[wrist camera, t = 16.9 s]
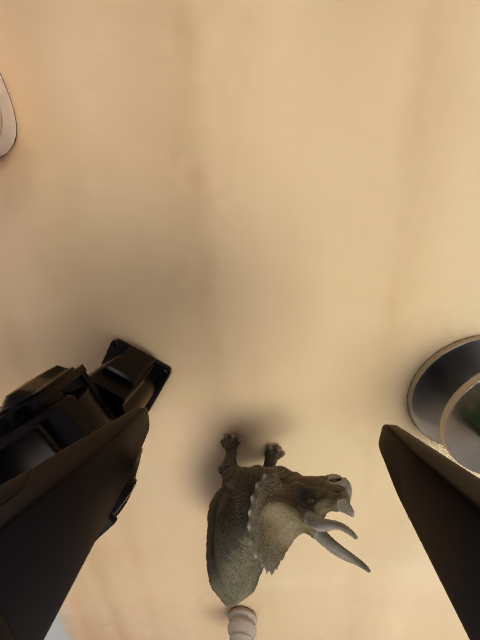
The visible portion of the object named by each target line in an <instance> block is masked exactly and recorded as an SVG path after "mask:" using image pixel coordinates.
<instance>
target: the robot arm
mask: <svg viewBox="0 0 480 640" xmlns="http://www.w3.org/2000/svg"><path fill="white" fill-rule="evenodd" d="M116 343H118V345H116ZM164 370H166V371H167V372H165V371H164ZM170 374H171V368H170V367H169V366H167V365H165V364H163V363H161V362H160V361H158V360H156V359H154V358H153V357H152V356H150V355H148V354H146V353H144V352H143V351H141V350H139V349H137V348H136V347H134V346H131V345H129V344H128V343H126V342H124V341H122V340H120V339H115V340H113V341H112V342H111V344H110V346H109V348H108V351H107V353H106V355H105V357H104V360H103V362H102V364H101V366H100V367H98V368H97V369H96V370H94V371H93V372H91V373H90V374H89V375H88V374H87V372H86V368H85V367H84V365H83V364H82V365H80V366H77V367H75V368H73V367H71V368H64V367H61V366H58V365H57V366H55V367H53V368H51V369H49V370H47V371H45V372H44V373H42V374H40V375H38V376H36V377H35V378H33V379H31V380H30V381H28V382H26V383H25V384H23V385H22V386H20V387H19V388H17V389H16V390H14V391H13V392H11V393H10V394H9V395H7V396H6V398H5V400H4V403H3V405H2V407H0V640H44V638H45V636H46V634H47V632H48V631H49V629H50V627H51V625H52V623H53V621H54V619H55V617H56V615H57V613H58V612H59V610H60V608H61V606H62V604H63V602H64V600H65V598H66V596H67V594H68V592H69V591H70V589H71V587H72V585H73V583H74V581H75V579H76V577H77V575H78V573H79V571H80V569H81V568H82V566H83V564H84V562H85V560H86V558H87V556H88V554H89V552H90V550H91V548H92V547H93V545H94V543H95V541H96V540H97V539H98V538H99V537H100V536H101V535H102V534H103V533H105V532H106V531H107V530H108V529H109V528H110V527H111V526H112V525H113V524H114V523H115V522H116V521H117V517H116V516H117V515H118V514H119V513H120V511H121V510H122V509H123V507H124V506H125V504H126V503H127V501H128V499H129V497H130V495H131V492H132V490H133V489H134V487H135V484H136V481H137V480H136V478H135V477H136V473H137V469H138V465H139V461H140V457H141V454H142V445H143V443H144V441H145V438H146V436H147V433H148V431H149V417H148V412H149V410H150V409H151V407H152V405H153V403H154V402H155V400H156V398H157V396H158V395H159V393H160V391H161V389H162V388H163V386H164V384H165V382H166V381H167V379H168V377H169V375H170ZM379 449H380V451H381V454H382V457H383V459H384V462H385V464H386V467H387V469H388V472H389V474H390V477H391V479H392V482H393V485H394V487H395V489H396V492H397V494H398V496H399V498H400V501H401V503H402V505H403V507H404V509H405V511H406V513H407V515H408V517H409V519H410V521H411V523H412V525H413V527H414V529H415V531H416V533H417V535H418V537H419V539H420V541H421V543H422V545H423V547H424V549H425V551H426V553H427V555H428V557H429V559H430V561H431V563H432V565H433V567H434V569H435V571H436V573H437V575H438V577H439V579H440V581H441V583H442V585H443V587H444V589H445V591H446V593H447V595H448V597H449V599H450V601H451V603H452V605H453V607H454V609H455V611H456V613H457V615H458V617H459V619H460V621H461V623H462V625H463V627H464V629H465V631H466V633H467V635H468V637H469V639H470V640H480V479H479V478H478V477H476V476H475V475H473V474H471V473H470V472H468V471H467V470H465V469H464V468H462V467H461V466H459V465H457V464H456V463H454V462H453V461H451V460H450V459H448V458H447V457H445V456H444V455H442V454H440V453H439V452H437V451H436V450H434V449H433V448H431V447H430V446H428V445H426V444H425V443H423V442H422V441H420V440H419V439H417V438H416V437H414V436H412V435H411V434H409V433H408V432H406V431H405V430H403V429H402V428H400V427H398V426H397V425H389V424H385V425H383V427H382V430H381V434H380V439H379Z"/></svg>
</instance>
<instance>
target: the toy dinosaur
mask: <svg viewBox="0 0 480 640" xmlns="http://www.w3.org/2000/svg"><path fill="white" fill-rule="evenodd" d="M241 440H242V439H241V438H236V434H235V433H233V434H232V435H231V436H229V435H228V434H225V435H224V440H221V441H220V442H221V444H222V447H223V448H224V449H225V451H226V455H225V460H224V462H222V467H218V471H219V473H220V474H221V475H222V477H223V482H222V487H221V488H220V489H219V490H218V491H217V492H216V493H215V495H214V497H213V498H212V500H211V502H210V506H209V511H208V515H207V521H208V529H207V543H206V547H207V551H206V560H207V572H208V576H209V583H210V585H211V587H212V590H213V591H214V592H215V593H216V594H217V596H218V597H219V598H220V599H221V601H222V602H223V603H224V604H225V606H227V607H231V606H234V605H236V604H238V603H239V602H241V601H243V600H244V599H245V598H247V597H248V596H249V595H250V594H252V593H253V592H254V590H255V588H256V586H257V584H258V580H259V577H260V575H261V573H262V570H263V568H264V567H265V569H266V574H267V573H268V572H269V571H270V573H271V575H272V574H273V572H274V570H275V568H276V569H278V566H279V564H280V561H281V560H283V558H284V556H285V553H286V552H287V550H288V549H289V547H290V546H291V544H292V542H293V541H294V540H295V538H296V537H297V536H299V535H300V534H302V533H306V534H308V535H310V536H311V537H312V538H314V539H316V540H317V541H318V542H319V543H320V544H321V545H322V546H324V547H325V548H326V549H327V550H328V551H330V552H331V553H332V554H334V555H336V556H337V557H339V558H341V559H343V560H345V561H347V562H350V563H353V564H355V565H357V566H358V567H360V568H362V569H364V570H365V571H367V572H371V571H370V569H369V568H368V566H367V565H366V564H365V563H364V562H363V561H361V560H360V559H359V558H358V557H356V556H355V555H354V554H352V553H351V552H349V551H348V550H347V549H345V548H344V547H343V546H342V545H340V544H339V543H338V542H337V541H335V540H334V539H333V538H332V537H331V536H330V535H329V534H328V533H327V532H326V531H330V530H336V529H337V530H341V531H343V532H345V533H347V534H349V535H350V536H352V537H353V538H354V539H357V538H358V537H357V535H356V534H355V533H354V532H353V531H352V530H351V529H350V528H349V527H348V526H346V525H345V524H343V523H341V522H338V521H335V520H329V519H324V517H325V516H326V514H327V513H328V512H330V511H335V512H338V511H340V512H343V513H345V514H347V515H349V516H351V517H354V511H353V508H352V506H351V505H350V499H351V496H352V488H351V485H350V483H349V481H348V480H347V479H346V478H342V477H341V476H340V475H337V474H330V475H327V476H302V475H300V474H299V473H298V472H292V471H291V470H289V469H287V468H285V467H283V466H276V463H277V460H279V459H280V458H281V457H283V456H284V455H285V452H284V451H281V447H280V446H277V447H275V448H273V447H272V446H271V445H268V446H267V449H266V451H265V460H264V465H263V466H261V465H254V466H252V467H249V468H248V467H240V466H237V461H236V454H237V451H236V450H237V447H238V445H239V444H240V443H241Z"/></svg>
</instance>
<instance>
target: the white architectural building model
mask: <svg viewBox="0 0 480 640" xmlns="http://www.w3.org/2000/svg"><path fill="white" fill-rule="evenodd" d="M15 137H16V120H15V115H14V111H13V107H12V104H11V101H10V98H9V95H8V92H7V90H6V87H5V85H4V82H3V80H2V78H1V76H0V156H2V155H4V154H5V153H7V152H8V151H9V150H10V148H11V147H12V146H13V143H14V141H15Z"/></svg>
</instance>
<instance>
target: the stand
mask: <svg viewBox="0 0 480 640" xmlns="http://www.w3.org/2000/svg"><path fill="white" fill-rule="evenodd" d="M407 404H408V411H409V414H410V417H411V419H412V421H413V422H414V424H415V425H416V426H417V428H418V429H419V430H420V431H421V432H422V433H423V434H424V435H425V436H427V437H428V438H430V439H431V440H433V441H435V442H437V443H439V444H442V445H444V447H445V449H446V450H447V451H448V453H449V454H450V455H451V456H452V457H453V458H454V459H455V460H456V461H457V462H458V463H459V464H461V465H462V466H464V467H465V468H467V469H469V470H471V471H473V472H476V473H479V474H480V335H479V336H474V337H470V338H466V339H463V340H460V341H457V342H455V343H453V344H451V345H449V346H447V347H445V348H443V349H442V350H440V351H439V352H437V353H436V354H435V355H433V356H432V357H431V358H430V359H429V360H427V361H426V362H425V363H424V365H423V366H422V367H421V368H420V369H419V371H418V372H417V373H416V375H415V377H414V379H413V380H412V382H411V385H410V388H409V392H408V399H407Z"/></svg>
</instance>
